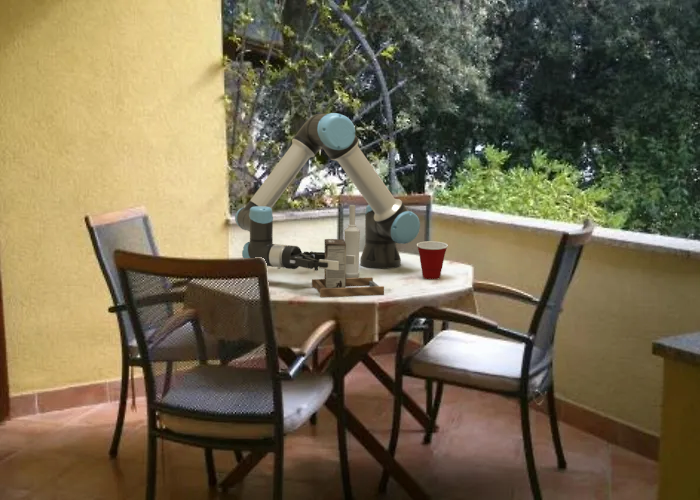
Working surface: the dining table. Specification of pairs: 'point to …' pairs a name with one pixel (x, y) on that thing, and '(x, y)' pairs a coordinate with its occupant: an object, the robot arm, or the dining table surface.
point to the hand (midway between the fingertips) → (346, 262)
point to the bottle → (352, 244)
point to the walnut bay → (349, 288)
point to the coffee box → (335, 252)
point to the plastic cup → (431, 258)
